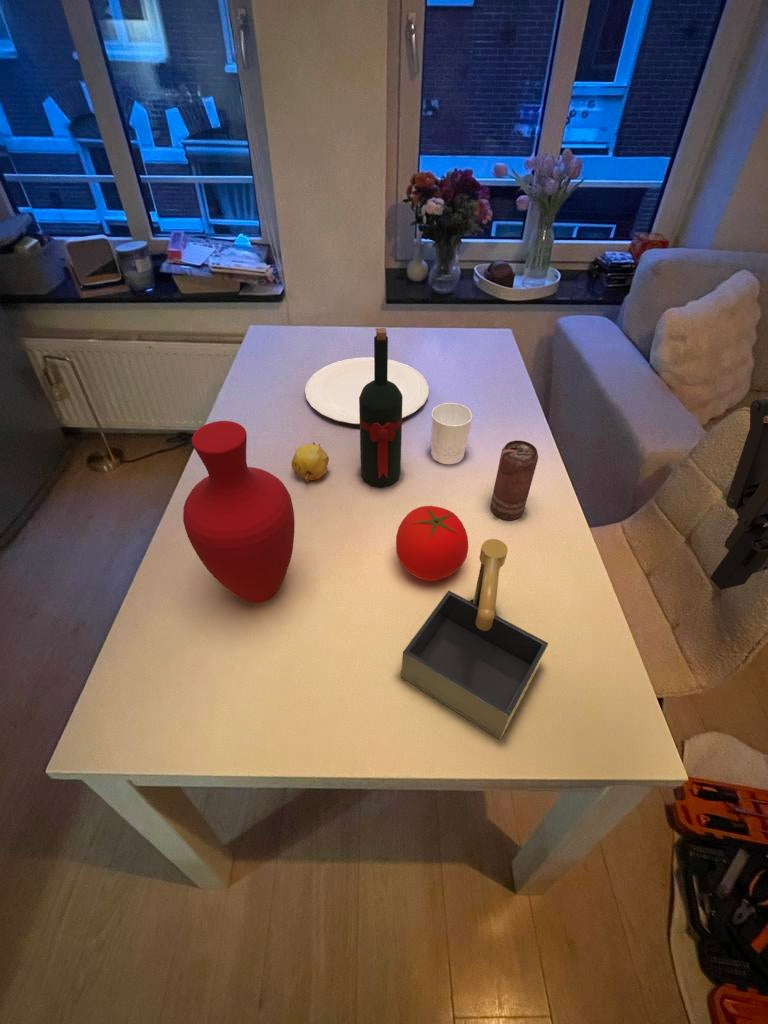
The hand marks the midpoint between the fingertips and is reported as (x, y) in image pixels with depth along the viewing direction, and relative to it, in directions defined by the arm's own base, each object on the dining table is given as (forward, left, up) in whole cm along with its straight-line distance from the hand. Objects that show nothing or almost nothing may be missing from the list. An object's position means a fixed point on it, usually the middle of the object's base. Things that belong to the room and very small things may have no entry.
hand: (726, 580), depth 50 cm
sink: (-7, +20, -28) cm, 35 cm away
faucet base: (+2, +23, -28) cm, 37 cm away
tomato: (+7, +35, -29) cm, 46 cm away
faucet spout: (-2, +22, -16) cm, 27 cm away
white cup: (+34, +47, -29) cm, 65 cm away
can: (+26, +30, -29) cm, 49 cm away
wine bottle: (+20, +54, -29) cm, 64 cm away
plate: (+43, +74, -29) cm, 90 cm away
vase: (-13, +55, -29) cm, 63 cm away
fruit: (+13, +66, -29) cm, 73 cm away
